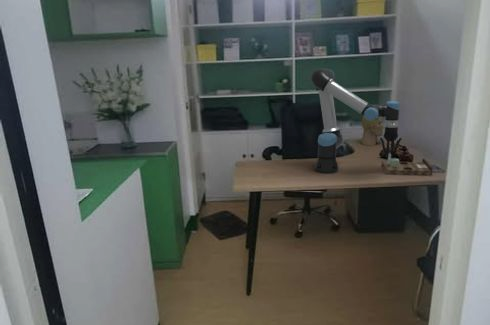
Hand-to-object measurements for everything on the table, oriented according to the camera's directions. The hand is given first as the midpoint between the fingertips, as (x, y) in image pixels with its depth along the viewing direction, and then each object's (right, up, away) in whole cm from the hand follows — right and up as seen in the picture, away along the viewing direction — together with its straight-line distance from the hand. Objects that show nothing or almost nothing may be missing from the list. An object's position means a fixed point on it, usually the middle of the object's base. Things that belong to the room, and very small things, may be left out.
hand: (388, 163), depth 230 cm
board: (+10, -5, -1) cm, 11 cm away
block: (+3, -2, 0) cm, 4 cm away
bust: (+14, +16, +71) cm, 74 cm away
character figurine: (+13, +1, +20) cm, 24 cm away
